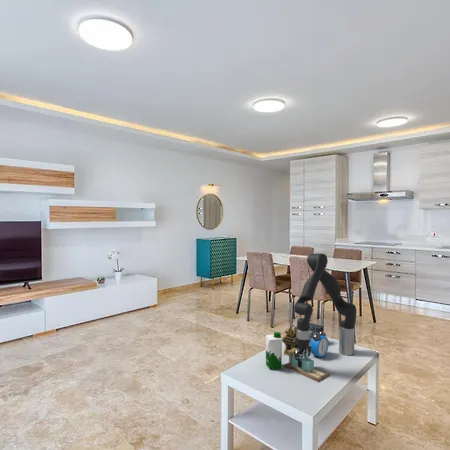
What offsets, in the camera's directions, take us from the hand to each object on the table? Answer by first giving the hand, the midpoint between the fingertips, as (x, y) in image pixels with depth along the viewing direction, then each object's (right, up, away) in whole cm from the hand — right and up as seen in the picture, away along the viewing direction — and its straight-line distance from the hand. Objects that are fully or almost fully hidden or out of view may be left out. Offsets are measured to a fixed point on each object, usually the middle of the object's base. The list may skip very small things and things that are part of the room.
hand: (302, 365), depth 185 cm
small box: (+18, -2, +42) cm, 45 cm away
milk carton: (-17, -2, +3) cm, 17 cm away
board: (+2, -2, -2) cm, 3 cm away
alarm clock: (+15, -2, +18) cm, 24 cm away
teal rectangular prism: (0, -1, 0) cm, 1 cm away
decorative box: (-2, -2, +23) cm, 23 cm away
